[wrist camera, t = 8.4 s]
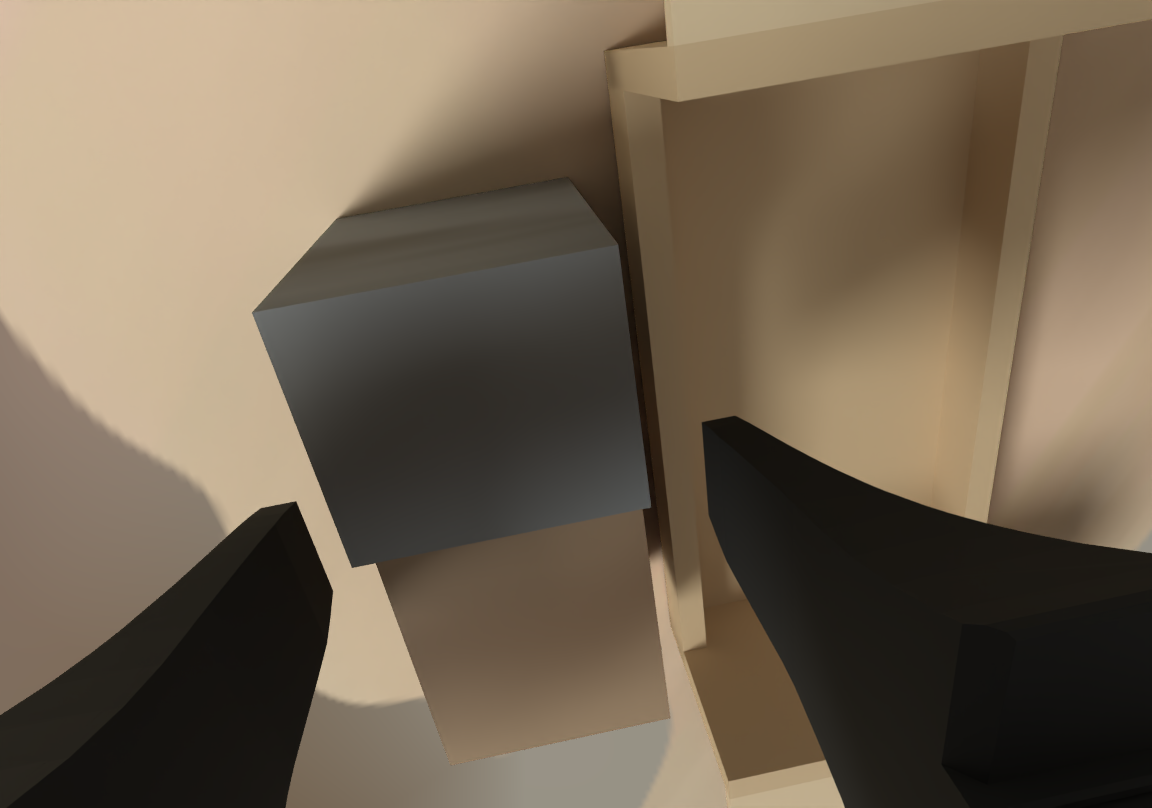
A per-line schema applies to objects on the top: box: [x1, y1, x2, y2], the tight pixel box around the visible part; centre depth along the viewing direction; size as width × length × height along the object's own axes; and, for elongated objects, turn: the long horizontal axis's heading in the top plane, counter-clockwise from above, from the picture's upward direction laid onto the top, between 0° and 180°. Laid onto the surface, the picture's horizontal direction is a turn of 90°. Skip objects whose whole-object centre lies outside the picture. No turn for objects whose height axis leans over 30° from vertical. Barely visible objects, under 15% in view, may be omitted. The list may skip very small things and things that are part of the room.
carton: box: [604, 0, 1152, 808], centre depth 14 cm, size 20×8×5 cm, turn 8°
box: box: [252, 177, 670, 765], centre depth 13 cm, size 10×4×6 cm, turn 9°
